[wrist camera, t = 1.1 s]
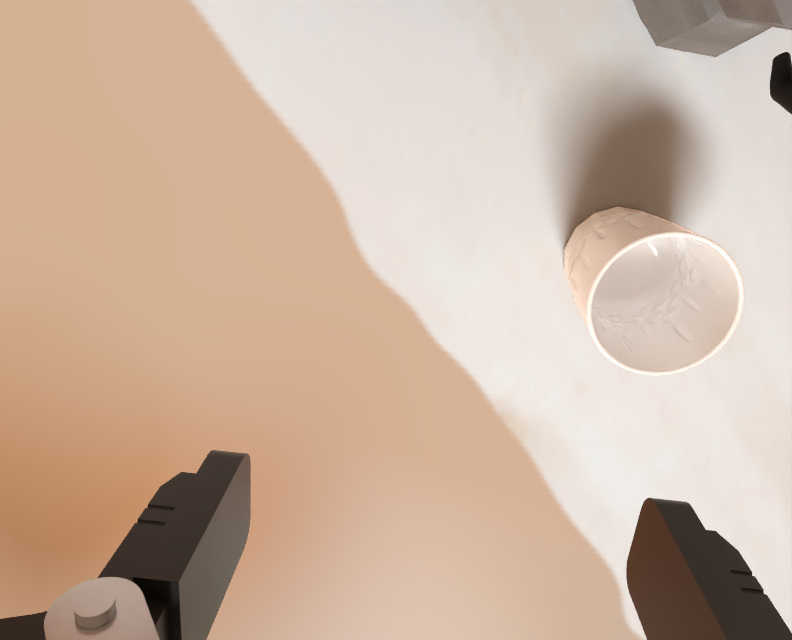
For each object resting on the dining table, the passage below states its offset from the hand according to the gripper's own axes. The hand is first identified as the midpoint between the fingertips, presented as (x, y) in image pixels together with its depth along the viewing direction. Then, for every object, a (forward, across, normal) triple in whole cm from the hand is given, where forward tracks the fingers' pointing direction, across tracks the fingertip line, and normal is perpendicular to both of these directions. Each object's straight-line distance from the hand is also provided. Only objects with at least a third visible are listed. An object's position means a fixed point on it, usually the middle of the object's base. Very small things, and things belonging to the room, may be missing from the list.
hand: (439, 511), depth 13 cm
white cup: (+31, -12, +2) cm, 33 cm away
